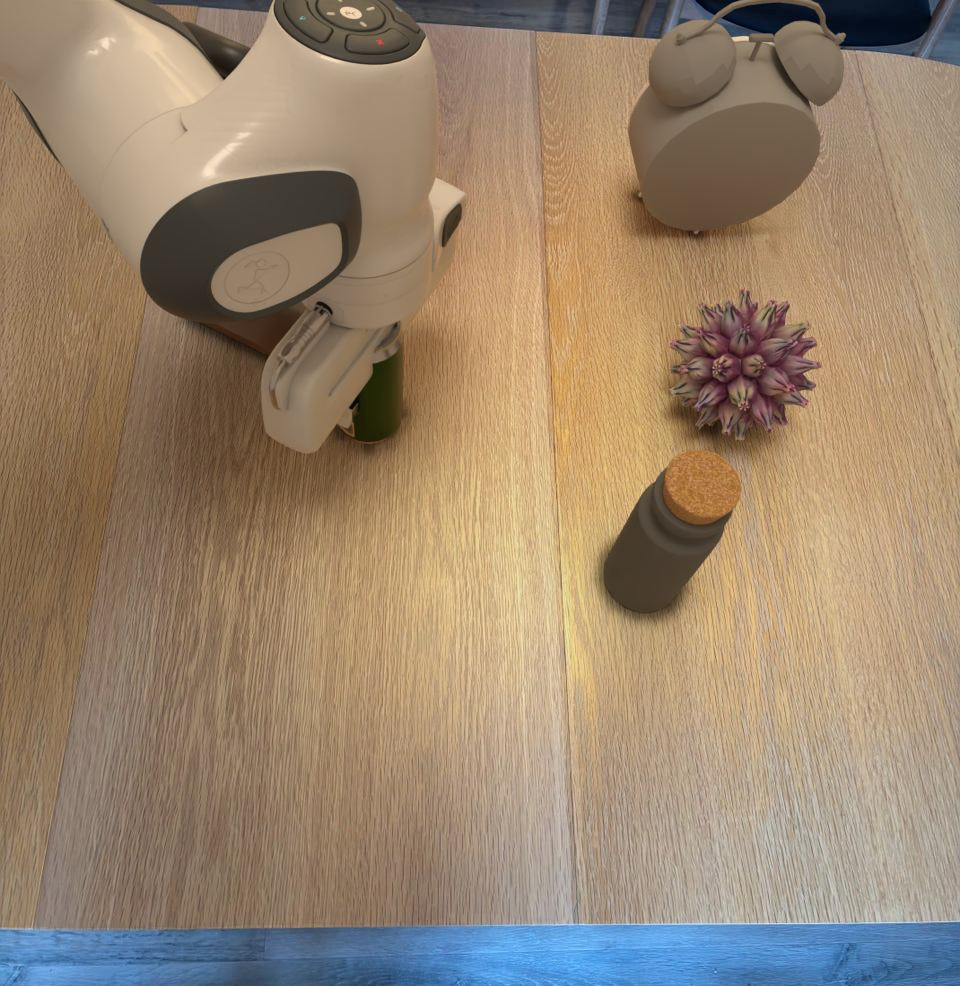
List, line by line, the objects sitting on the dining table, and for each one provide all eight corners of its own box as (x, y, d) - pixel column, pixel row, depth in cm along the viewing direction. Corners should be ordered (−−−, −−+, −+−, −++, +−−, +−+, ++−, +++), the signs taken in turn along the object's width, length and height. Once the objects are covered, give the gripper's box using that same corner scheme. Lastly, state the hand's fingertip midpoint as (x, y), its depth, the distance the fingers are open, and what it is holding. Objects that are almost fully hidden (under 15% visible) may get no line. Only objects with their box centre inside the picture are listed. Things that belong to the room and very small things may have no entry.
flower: (787, 461, 73) (670, 474, 68) (734, 346, 78) (621, 351, 73) (880, 384, 63) (752, 393, 59) (813, 258, 68) (689, 258, 64)
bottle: (669, 624, 63) (742, 538, 50) (594, 597, 64) (646, 506, 51) (685, 556, 66) (758, 458, 53) (613, 531, 67) (667, 428, 53)
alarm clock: (758, 182, 87) (862, -38, 68) (782, 246, 83) (900, 31, 64) (600, 184, 85) (661, -42, 65) (617, 250, 81) (688, 29, 61)
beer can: (374, 459, 68) (371, 368, 57) (321, 423, 69) (308, 327, 58) (415, 414, 70) (420, 319, 60) (364, 380, 71) (359, 281, 61)
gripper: (314, 397, 48) (330, 509, 60) (479, 179, 58) (464, 314, 70) (219, 350, 49) (254, 470, 61) (397, 144, 58) (397, 283, 71)
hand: (367, 385), depth 66 cm, fingers closed on beer can, 5 cm apart
